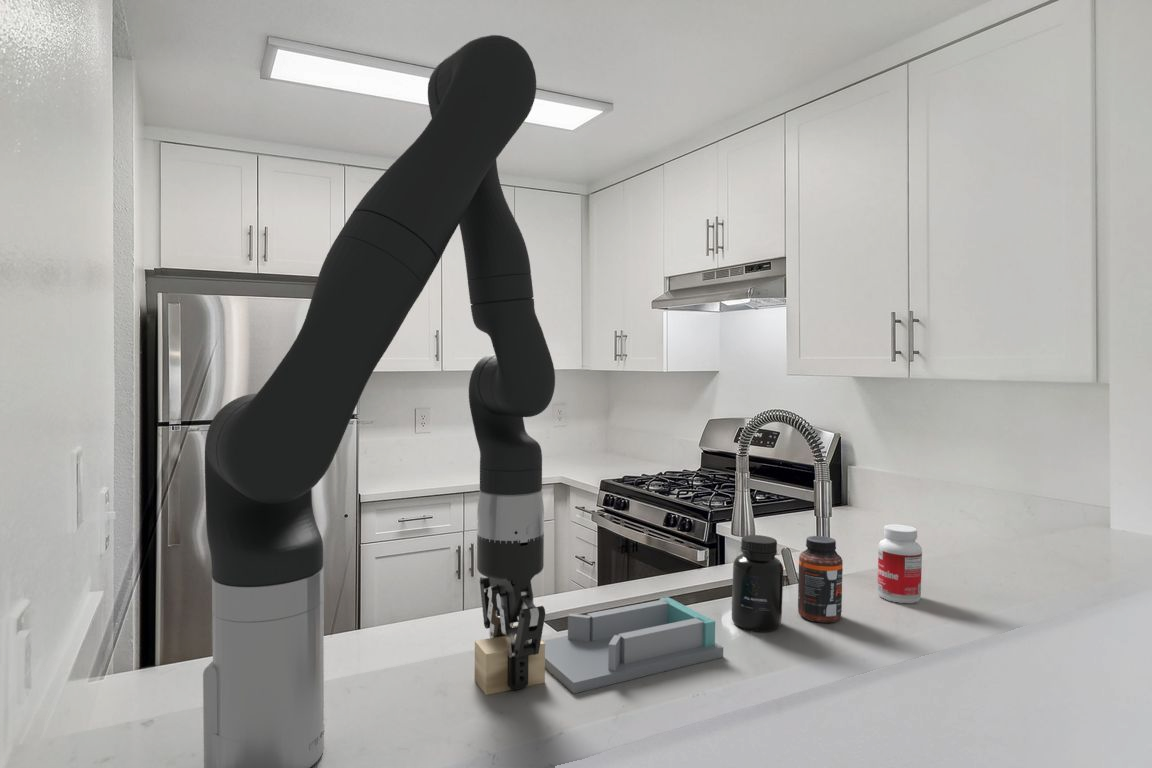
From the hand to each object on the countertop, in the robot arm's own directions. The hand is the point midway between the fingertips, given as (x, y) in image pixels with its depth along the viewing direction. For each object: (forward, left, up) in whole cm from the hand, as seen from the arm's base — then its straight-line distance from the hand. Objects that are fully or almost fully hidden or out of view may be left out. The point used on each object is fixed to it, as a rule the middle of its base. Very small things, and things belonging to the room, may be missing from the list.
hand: (509, 678), depth 80 cm
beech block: (0, 0, 0) cm, 0 cm away
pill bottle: (+60, +24, -1) cm, 65 cm away
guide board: (+14, +6, 0) cm, 16 cm away
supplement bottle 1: (+34, +15, -1) cm, 38 cm away
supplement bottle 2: (+44, +17, -1) cm, 47 cm away
